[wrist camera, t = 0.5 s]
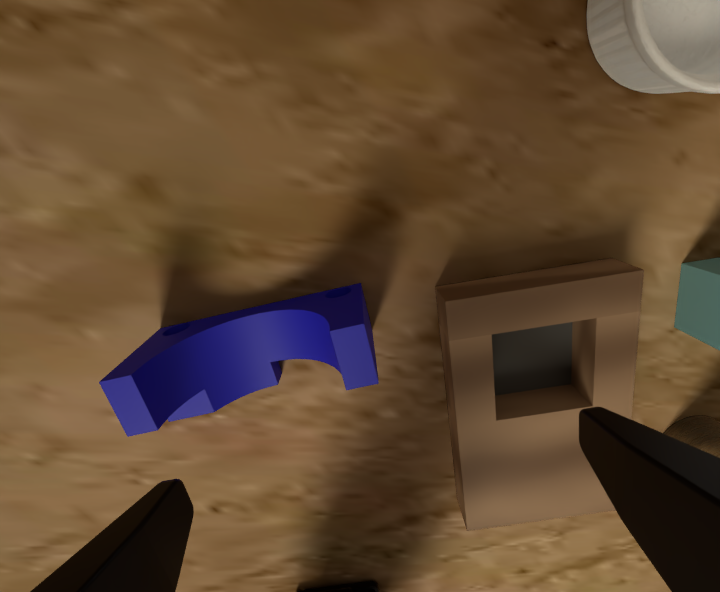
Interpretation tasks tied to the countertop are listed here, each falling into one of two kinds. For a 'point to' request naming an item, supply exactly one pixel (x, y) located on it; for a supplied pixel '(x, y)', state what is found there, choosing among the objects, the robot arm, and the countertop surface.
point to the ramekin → (657, 43)
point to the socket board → (535, 385)
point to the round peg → (698, 433)
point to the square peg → (700, 301)
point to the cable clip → (240, 356)
